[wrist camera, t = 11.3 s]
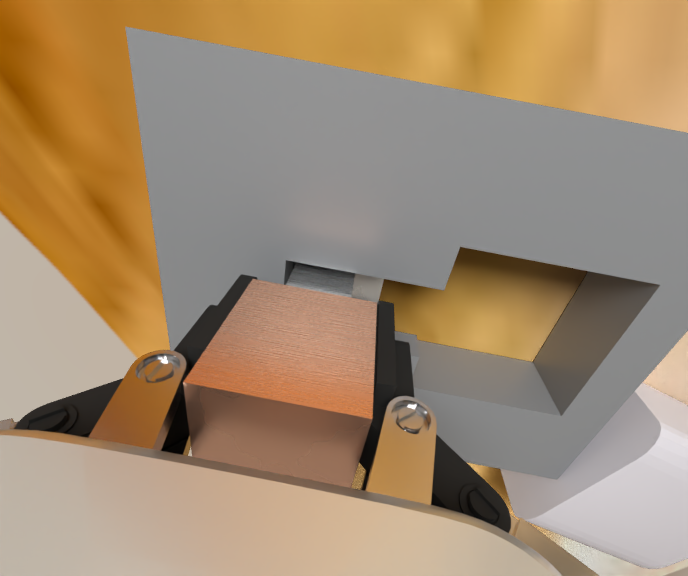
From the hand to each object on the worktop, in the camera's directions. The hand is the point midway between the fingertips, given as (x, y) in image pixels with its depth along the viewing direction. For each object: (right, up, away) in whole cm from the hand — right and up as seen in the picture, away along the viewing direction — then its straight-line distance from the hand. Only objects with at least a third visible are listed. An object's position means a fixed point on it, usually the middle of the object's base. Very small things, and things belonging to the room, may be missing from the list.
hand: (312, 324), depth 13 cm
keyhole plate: (+4, +2, +4) cm, 6 cm away
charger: (+20, -9, +9) cm, 24 cm away
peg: (+1, +2, +4) cm, 5 cm away
